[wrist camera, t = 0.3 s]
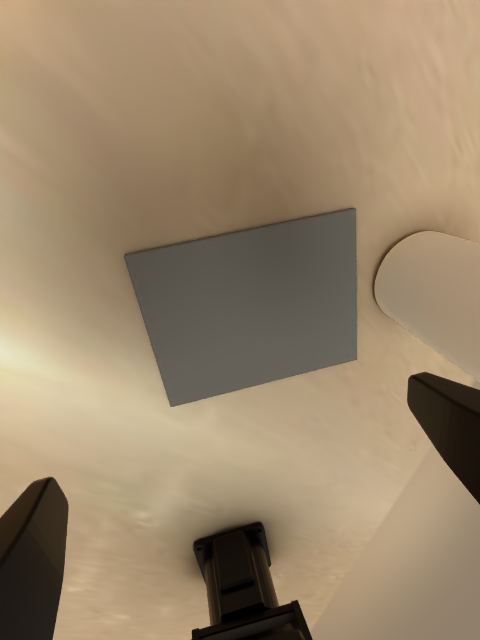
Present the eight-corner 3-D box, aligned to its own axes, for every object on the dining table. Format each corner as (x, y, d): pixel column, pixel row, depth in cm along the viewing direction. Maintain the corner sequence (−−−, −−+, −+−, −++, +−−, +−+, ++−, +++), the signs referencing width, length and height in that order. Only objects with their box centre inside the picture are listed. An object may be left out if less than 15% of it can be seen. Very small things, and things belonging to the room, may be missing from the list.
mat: (354, 356, 27) (357, 359, 27) (170, 403, 26) (170, 407, 25) (352, 207, 22) (356, 208, 22) (124, 254, 21) (124, 256, 20)
